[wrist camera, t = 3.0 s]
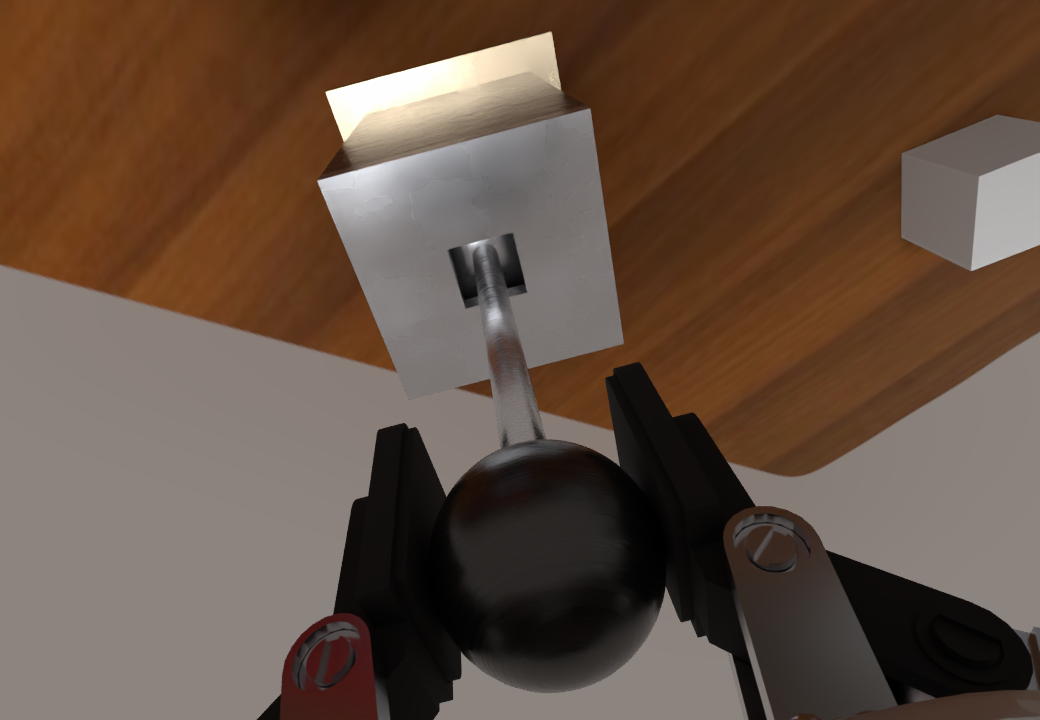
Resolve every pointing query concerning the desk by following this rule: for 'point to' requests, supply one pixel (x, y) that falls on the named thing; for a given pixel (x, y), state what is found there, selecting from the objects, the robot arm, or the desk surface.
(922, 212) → the white cube
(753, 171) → the desk surface
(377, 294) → the grey slotted box
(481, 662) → the ball knob lever
